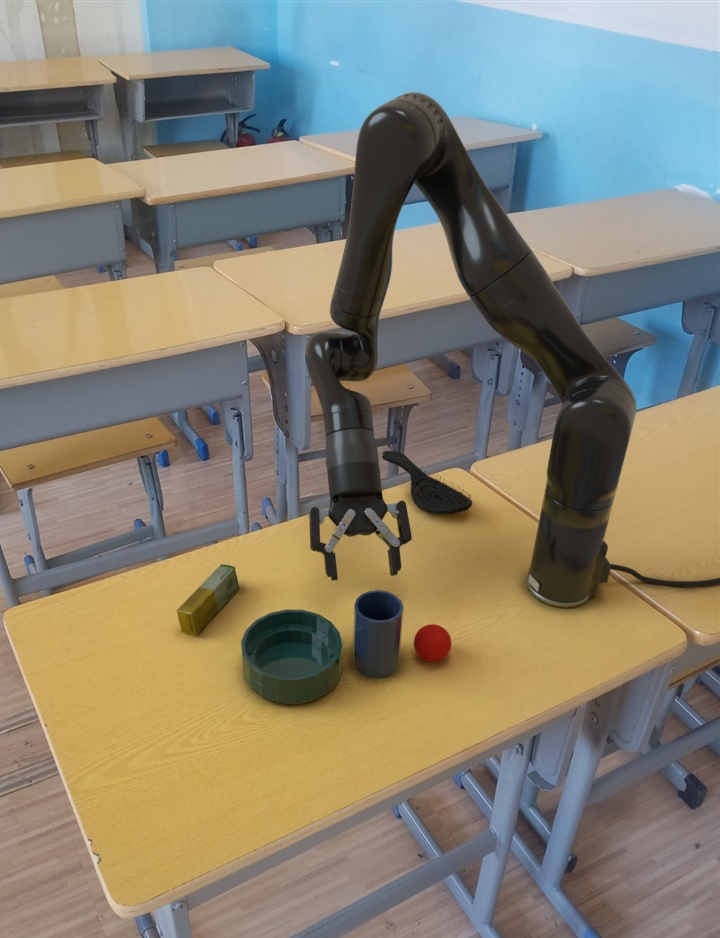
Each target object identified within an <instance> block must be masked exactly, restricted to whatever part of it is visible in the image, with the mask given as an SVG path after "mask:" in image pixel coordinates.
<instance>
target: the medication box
mask: <svg viewBox="0 0 720 938" xmlns="http://www.w3.org/2000/svg"><path fill="white" fill-rule="evenodd" d="M239 589H240V584H239V580H238V575H237V571H236V567H235V566H233V565H230V564H220V565H219V566H218V567H216V569H214V571H213V572H212V573H210V575H209V576H208V577H207V578H206V579H205V580H204V581H203V582H202V583H201V584H200V585H199V586H198V587H197V589H196V590H195V591H194V592H193V593H192V594H191V595H190V596H189V597H188V598H187V599H186V600H185V601H184V602H183V603H182V604H181V605H180V606H179V607H178V608H177V609H176V613H177V618H178V622H179V626H180V631H181V633H185V634H188V635H193V636H197V635H198V634H199V633H200V632H201V630H202V629H204V627H206V625H207V624H208V623H209V622H210V621H211V620H212V619H213V618H214V616H215V615H216V614H217V613H218V612H219V611H220V610H221V609H222V608H223V606H225V604H226V603H227V602H228V601H229V600H230V599H231V598H232V597H233V595H234V594H236V592H237V591H238V590H239Z"/></svg>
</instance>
